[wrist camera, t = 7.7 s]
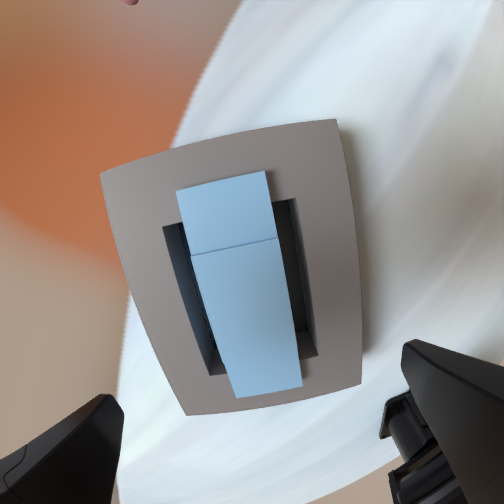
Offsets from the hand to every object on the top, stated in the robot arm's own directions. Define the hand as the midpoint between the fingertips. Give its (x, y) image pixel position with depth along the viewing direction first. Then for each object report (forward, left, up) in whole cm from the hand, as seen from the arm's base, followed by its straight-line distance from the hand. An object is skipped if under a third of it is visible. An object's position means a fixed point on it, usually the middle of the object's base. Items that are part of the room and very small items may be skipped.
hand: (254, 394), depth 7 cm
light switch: (0, 0, -10) cm, 10 cm away
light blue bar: (0, 0, -10) cm, 10 cm away
